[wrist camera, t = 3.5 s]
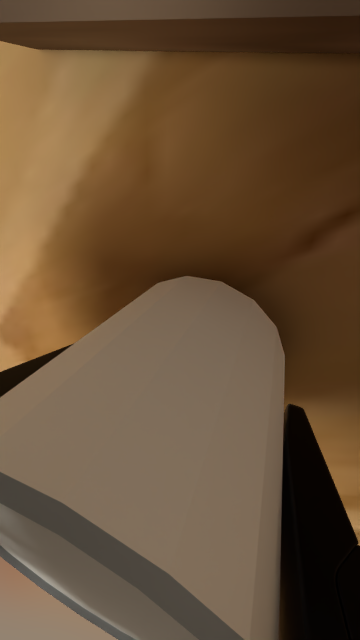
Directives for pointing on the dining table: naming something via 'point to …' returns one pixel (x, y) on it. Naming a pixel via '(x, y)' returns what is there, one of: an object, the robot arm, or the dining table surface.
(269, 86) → the dining table surface
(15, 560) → the white cup
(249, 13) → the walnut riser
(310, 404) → the dining table surface
